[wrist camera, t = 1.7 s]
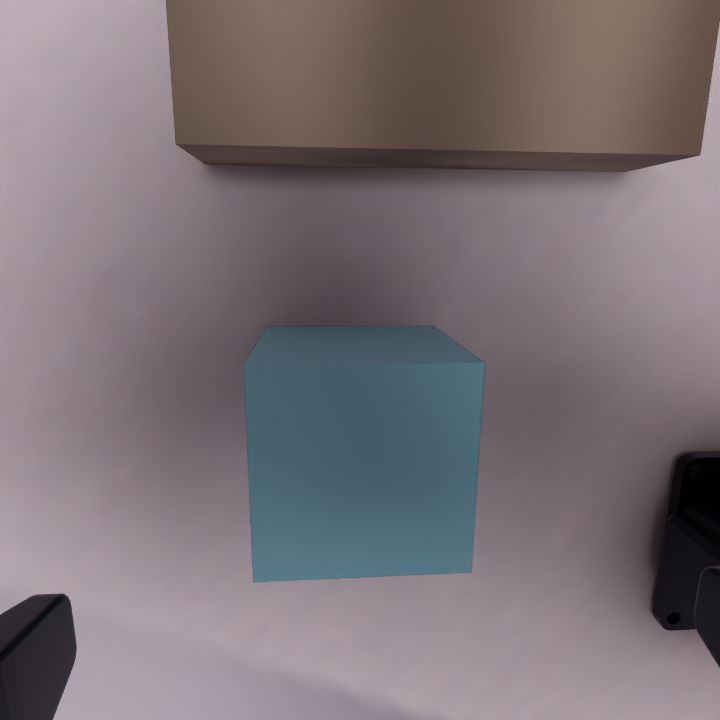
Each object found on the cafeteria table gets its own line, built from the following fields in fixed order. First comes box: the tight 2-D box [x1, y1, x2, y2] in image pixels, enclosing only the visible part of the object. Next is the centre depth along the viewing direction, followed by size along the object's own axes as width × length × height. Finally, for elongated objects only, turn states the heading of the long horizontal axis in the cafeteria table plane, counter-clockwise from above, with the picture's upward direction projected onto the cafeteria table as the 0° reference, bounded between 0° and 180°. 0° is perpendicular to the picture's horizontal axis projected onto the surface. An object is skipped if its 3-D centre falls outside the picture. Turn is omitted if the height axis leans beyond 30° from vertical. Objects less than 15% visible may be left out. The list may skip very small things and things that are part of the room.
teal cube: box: [244, 326, 485, 582], centre depth 14 cm, size 5×5×5 cm
